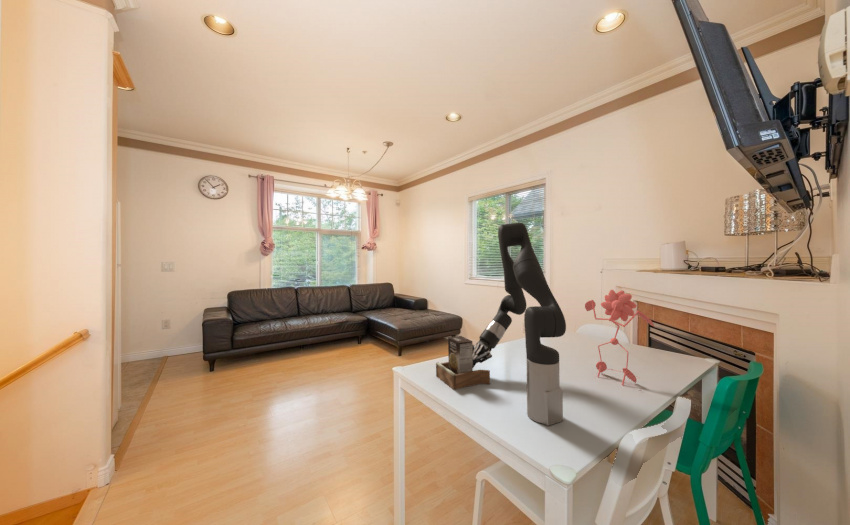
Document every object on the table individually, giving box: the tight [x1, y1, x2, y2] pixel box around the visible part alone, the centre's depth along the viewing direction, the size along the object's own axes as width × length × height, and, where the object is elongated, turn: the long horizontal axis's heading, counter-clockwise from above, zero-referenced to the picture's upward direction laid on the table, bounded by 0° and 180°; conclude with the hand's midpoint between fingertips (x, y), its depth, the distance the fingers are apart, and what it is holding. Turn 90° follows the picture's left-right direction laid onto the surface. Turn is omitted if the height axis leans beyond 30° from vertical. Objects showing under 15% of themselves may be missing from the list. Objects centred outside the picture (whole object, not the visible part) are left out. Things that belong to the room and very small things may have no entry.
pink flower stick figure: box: [584, 289, 655, 392], centre depth 117 cm, size 15×26×35 cm, turn 30°
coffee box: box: [447, 335, 474, 374], centre depth 118 cm, size 9×6×16 cm
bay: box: [435, 361, 491, 390], centre depth 118 cm, size 18×15×6 cm
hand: (468, 368), depth 119 cm, fingers closed
